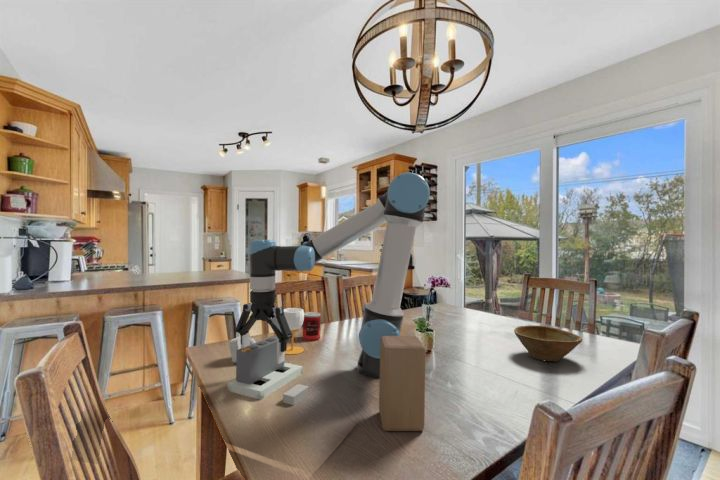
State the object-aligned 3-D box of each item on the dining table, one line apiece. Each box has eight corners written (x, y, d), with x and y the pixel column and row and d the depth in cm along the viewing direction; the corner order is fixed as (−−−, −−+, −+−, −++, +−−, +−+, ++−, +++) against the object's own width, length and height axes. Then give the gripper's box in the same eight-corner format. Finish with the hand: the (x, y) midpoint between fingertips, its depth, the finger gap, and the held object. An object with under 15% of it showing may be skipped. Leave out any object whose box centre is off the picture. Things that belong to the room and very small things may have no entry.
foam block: (308, 396, 95) (308, 386, 95) (293, 408, 89) (294, 396, 89) (297, 394, 97) (298, 383, 97) (282, 405, 90) (282, 394, 90)
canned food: (311, 334, 155) (312, 311, 155) (323, 338, 150) (324, 313, 150) (298, 338, 149) (299, 313, 149) (311, 342, 144) (311, 316, 144)
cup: (275, 353, 130) (276, 311, 130) (288, 345, 139) (288, 307, 139) (296, 356, 127) (297, 313, 127) (307, 348, 136) (308, 308, 136)
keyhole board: (302, 375, 110) (302, 366, 110) (260, 402, 92) (260, 391, 91) (272, 368, 115) (273, 360, 115) (227, 393, 96) (227, 383, 96)
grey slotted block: (284, 372, 110) (284, 337, 110) (249, 392, 96) (250, 351, 96) (271, 369, 112) (272, 334, 112) (236, 388, 98) (236, 349, 98)
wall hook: (260, 365, 116) (254, 336, 117) (234, 369, 118) (228, 341, 119) (271, 357, 124) (265, 330, 125) (246, 361, 126) (240, 335, 127)
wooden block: (416, 410, 89) (417, 334, 88) (425, 432, 79) (426, 347, 78) (378, 410, 88) (379, 334, 88) (382, 432, 78) (383, 347, 78)
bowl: (590, 373, 115) (590, 344, 115) (516, 364, 123) (517, 337, 123) (572, 353, 136) (573, 328, 136) (510, 346, 143) (511, 322, 143)
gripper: (303, 290, 102) (303, 360, 102) (240, 285, 112) (240, 349, 113) (288, 294, 95) (288, 369, 95) (223, 288, 105) (223, 356, 106)
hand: (263, 358), depth 104 cm, fingers open, 13 cm apart
